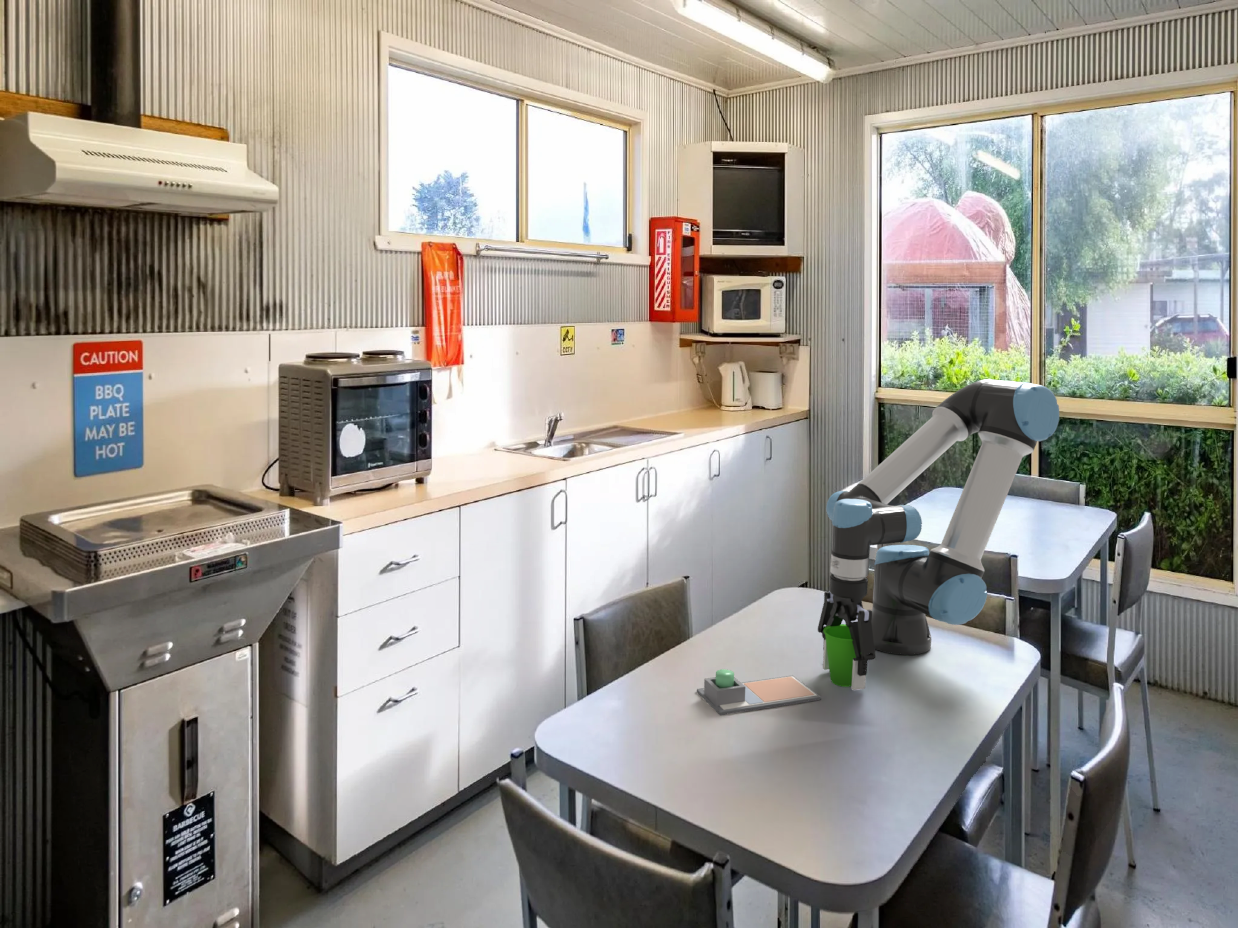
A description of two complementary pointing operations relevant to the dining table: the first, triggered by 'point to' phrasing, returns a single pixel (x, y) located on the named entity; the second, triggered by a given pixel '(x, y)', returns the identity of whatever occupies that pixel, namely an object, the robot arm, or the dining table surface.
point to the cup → (840, 654)
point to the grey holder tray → (756, 694)
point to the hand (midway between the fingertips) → (843, 678)
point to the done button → (724, 678)
